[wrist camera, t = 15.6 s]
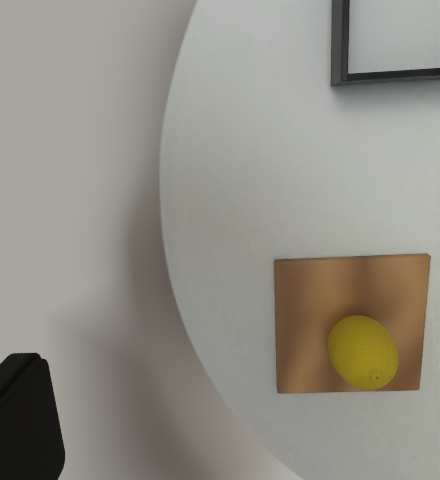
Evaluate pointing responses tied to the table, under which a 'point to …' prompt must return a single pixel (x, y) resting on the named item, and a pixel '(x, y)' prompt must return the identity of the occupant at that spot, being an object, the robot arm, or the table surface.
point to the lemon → (363, 352)
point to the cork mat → (347, 315)
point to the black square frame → (341, 56)
